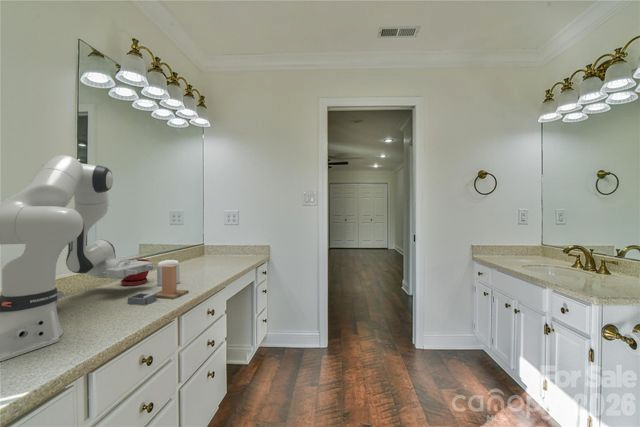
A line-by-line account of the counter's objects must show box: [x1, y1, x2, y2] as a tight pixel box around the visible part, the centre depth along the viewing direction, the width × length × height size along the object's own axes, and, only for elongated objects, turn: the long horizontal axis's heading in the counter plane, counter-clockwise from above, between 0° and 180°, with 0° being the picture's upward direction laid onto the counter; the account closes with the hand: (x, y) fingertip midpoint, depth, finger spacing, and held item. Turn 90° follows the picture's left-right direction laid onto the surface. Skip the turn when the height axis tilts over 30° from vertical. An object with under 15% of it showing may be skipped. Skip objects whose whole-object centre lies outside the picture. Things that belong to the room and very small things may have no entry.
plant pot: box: [120, 258, 151, 286], centre depth 153 cm, size 13×13×12 cm
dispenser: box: [127, 291, 158, 306], centre depth 122 cm, size 7×9×4 cm
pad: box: [156, 289, 190, 300], centre depth 132 cm, size 10×12×1 cm
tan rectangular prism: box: [161, 265, 178, 294], centre depth 131 cm, size 3×5×12 cm, turn 79°
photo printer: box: [156, 259, 181, 287], centre depth 151 cm, size 10×4×12 cm, turn 127°
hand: (145, 270), depth 134 cm, fingers open, 8 cm apart
